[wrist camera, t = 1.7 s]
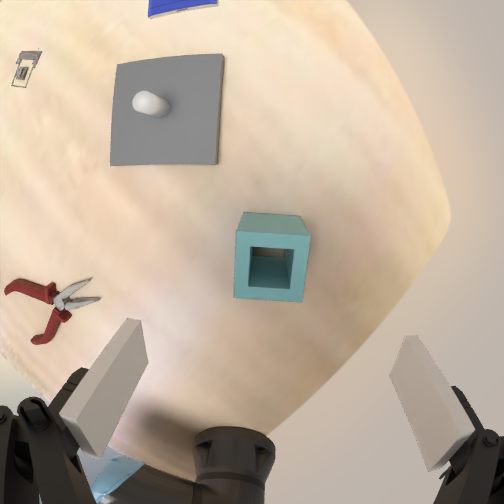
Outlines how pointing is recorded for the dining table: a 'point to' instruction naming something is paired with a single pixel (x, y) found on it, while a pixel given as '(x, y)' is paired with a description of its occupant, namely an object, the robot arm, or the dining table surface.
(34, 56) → the grey rectangular frame
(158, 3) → the hard drive
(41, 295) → the pliers
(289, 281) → the block with square hole
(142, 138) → the pin base
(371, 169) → the dining table surface
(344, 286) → the dining table surface
